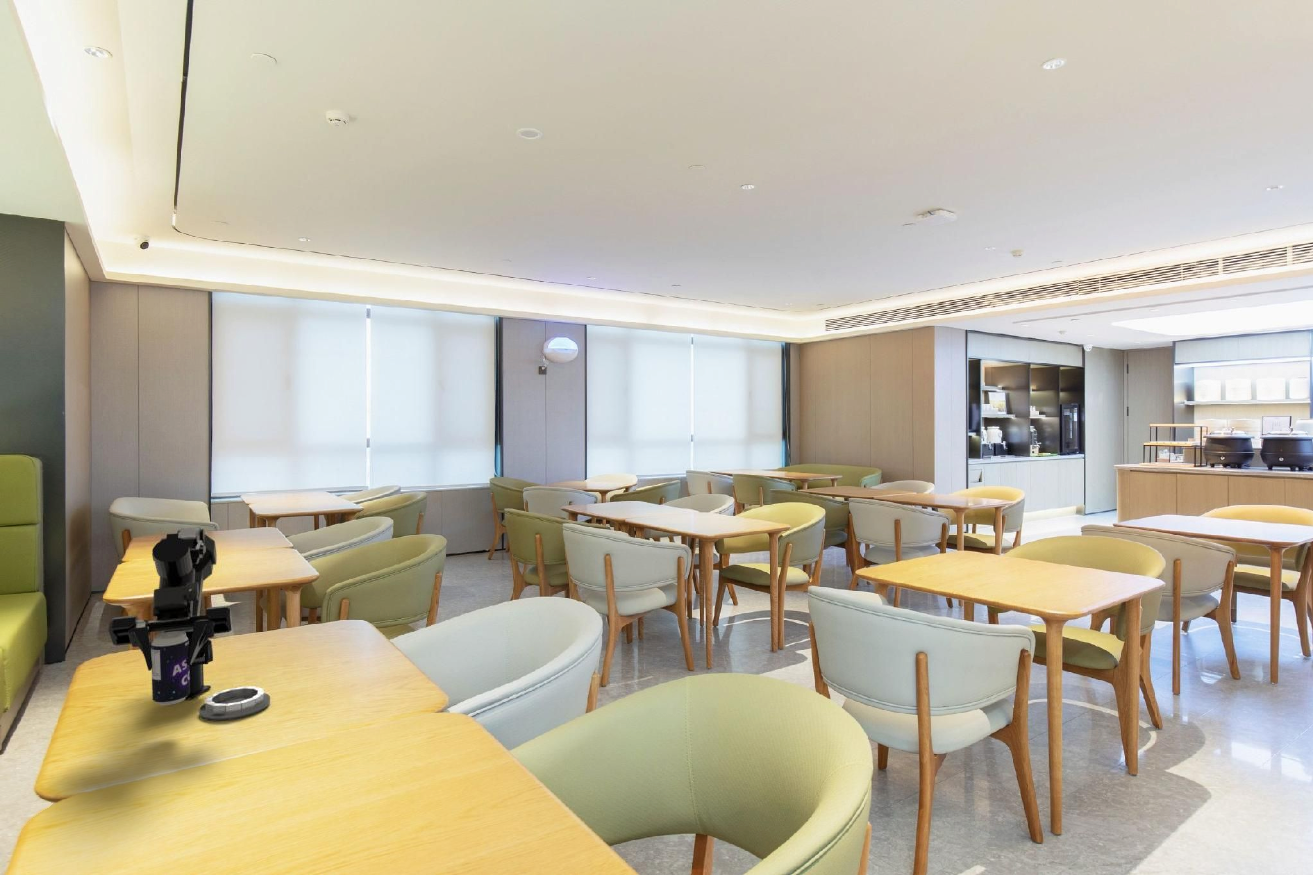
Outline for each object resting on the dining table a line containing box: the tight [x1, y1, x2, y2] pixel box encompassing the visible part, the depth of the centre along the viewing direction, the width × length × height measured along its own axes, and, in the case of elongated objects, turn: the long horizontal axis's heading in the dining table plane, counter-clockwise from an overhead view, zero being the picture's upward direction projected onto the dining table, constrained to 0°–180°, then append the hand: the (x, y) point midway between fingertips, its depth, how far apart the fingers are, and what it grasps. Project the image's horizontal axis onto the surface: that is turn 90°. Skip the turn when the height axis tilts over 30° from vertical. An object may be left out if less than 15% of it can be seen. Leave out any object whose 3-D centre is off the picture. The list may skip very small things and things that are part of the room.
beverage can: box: [151, 631, 190, 706], centre depth 132 cm, size 6×6×12 cm
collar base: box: [198, 686, 271, 722], centre depth 143 cm, size 12×12×2 cm
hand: (169, 666), depth 131 cm, fingers closed on beverage can, 6 cm apart
